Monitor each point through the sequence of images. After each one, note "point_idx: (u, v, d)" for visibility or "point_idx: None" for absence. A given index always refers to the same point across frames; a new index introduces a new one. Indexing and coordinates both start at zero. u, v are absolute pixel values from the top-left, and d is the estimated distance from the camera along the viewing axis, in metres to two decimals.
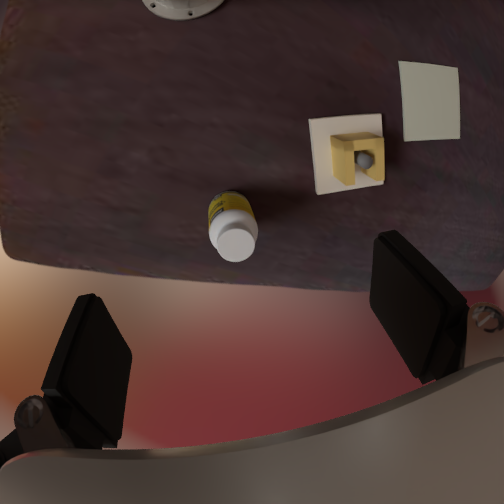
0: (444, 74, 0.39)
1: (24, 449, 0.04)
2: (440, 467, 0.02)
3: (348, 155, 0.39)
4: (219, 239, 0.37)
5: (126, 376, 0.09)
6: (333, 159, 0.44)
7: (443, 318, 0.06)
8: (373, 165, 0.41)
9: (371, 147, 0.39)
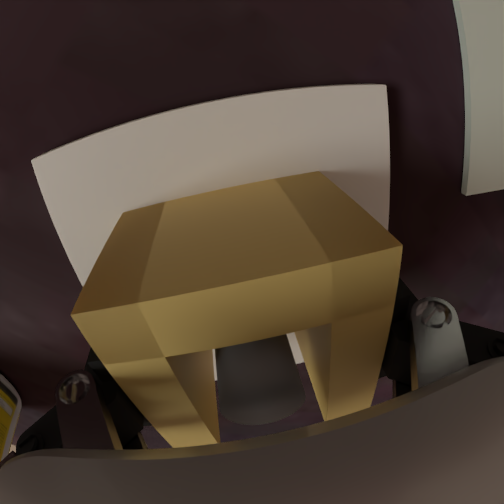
0: None
1: (60, 424, 0.05)
2: (439, 468, 0.02)
3: (136, 378, 0.06)
4: None
5: None
6: None
7: None
8: (320, 372, 0.08)
9: (300, 324, 0.06)
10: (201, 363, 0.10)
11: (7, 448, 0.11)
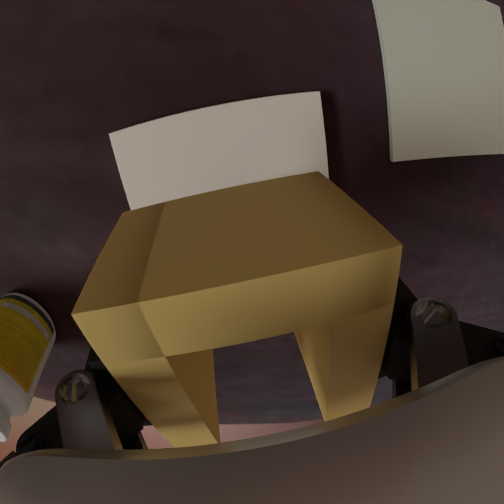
0: (476, 12, 0.13)
1: (60, 424, 0.05)
2: (439, 467, 0.02)
3: (137, 377, 0.06)
4: None
5: None
6: None
7: None
8: (320, 372, 0.08)
9: (300, 324, 0.06)
10: (201, 363, 0.10)
11: (40, 369, 0.18)
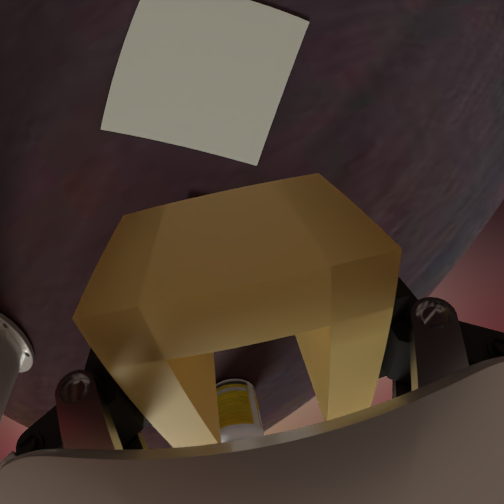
0: (152, 20, 0.18)
1: (60, 424, 0.05)
2: (440, 467, 0.02)
3: (138, 380, 0.06)
4: None
5: None
6: None
7: None
8: (321, 374, 0.08)
9: (300, 327, 0.06)
10: (202, 365, 0.10)
11: (254, 406, 0.37)
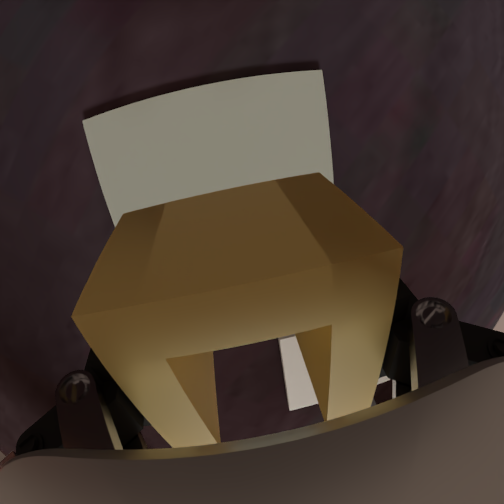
0: (124, 173, 0.16)
1: (60, 424, 0.05)
2: (439, 468, 0.02)
3: (137, 379, 0.06)
4: None
5: None
6: None
7: None
8: (321, 373, 0.08)
9: (300, 326, 0.06)
10: (201, 364, 0.10)
11: None
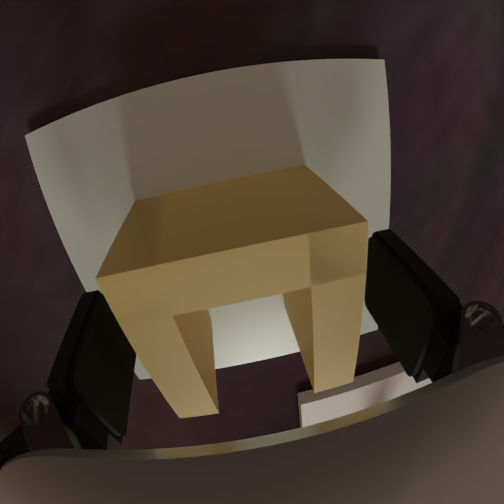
0: (87, 213, 0.11)
1: (28, 445, 0.04)
2: (440, 467, 0.02)
3: (147, 337, 0.08)
4: None
5: (131, 373, 0.09)
6: None
7: (436, 317, 0.06)
8: (307, 340, 0.10)
9: (284, 287, 0.07)
10: (202, 334, 0.11)
11: None
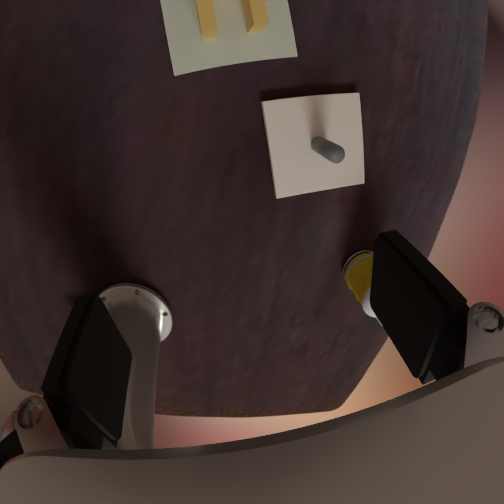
0: None
1: (24, 449, 0.04)
2: (439, 467, 0.02)
3: None
4: None
5: (126, 376, 0.09)
6: (198, 16, 0.25)
7: (443, 318, 0.06)
8: (249, 6, 0.23)
9: None
10: None
11: None
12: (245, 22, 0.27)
